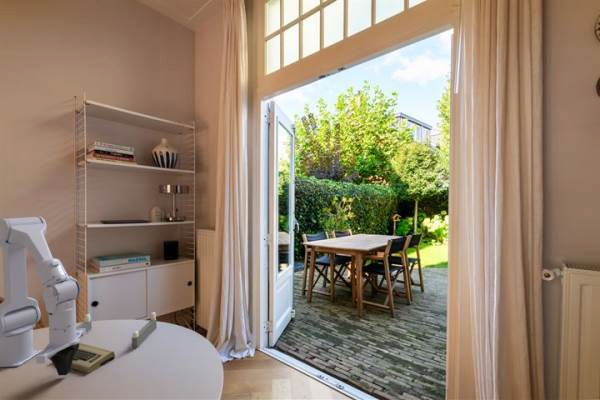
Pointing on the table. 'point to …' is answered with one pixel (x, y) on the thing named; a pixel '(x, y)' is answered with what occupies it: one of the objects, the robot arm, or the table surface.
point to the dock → (137, 336)
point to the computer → (91, 358)
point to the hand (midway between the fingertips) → (64, 373)
